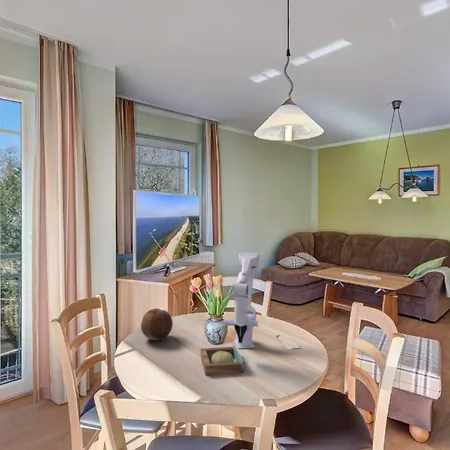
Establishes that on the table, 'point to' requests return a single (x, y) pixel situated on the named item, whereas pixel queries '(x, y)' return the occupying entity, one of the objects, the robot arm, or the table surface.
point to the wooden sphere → (156, 324)
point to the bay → (218, 367)
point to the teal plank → (238, 358)
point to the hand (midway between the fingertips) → (240, 342)
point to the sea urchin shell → (221, 357)
